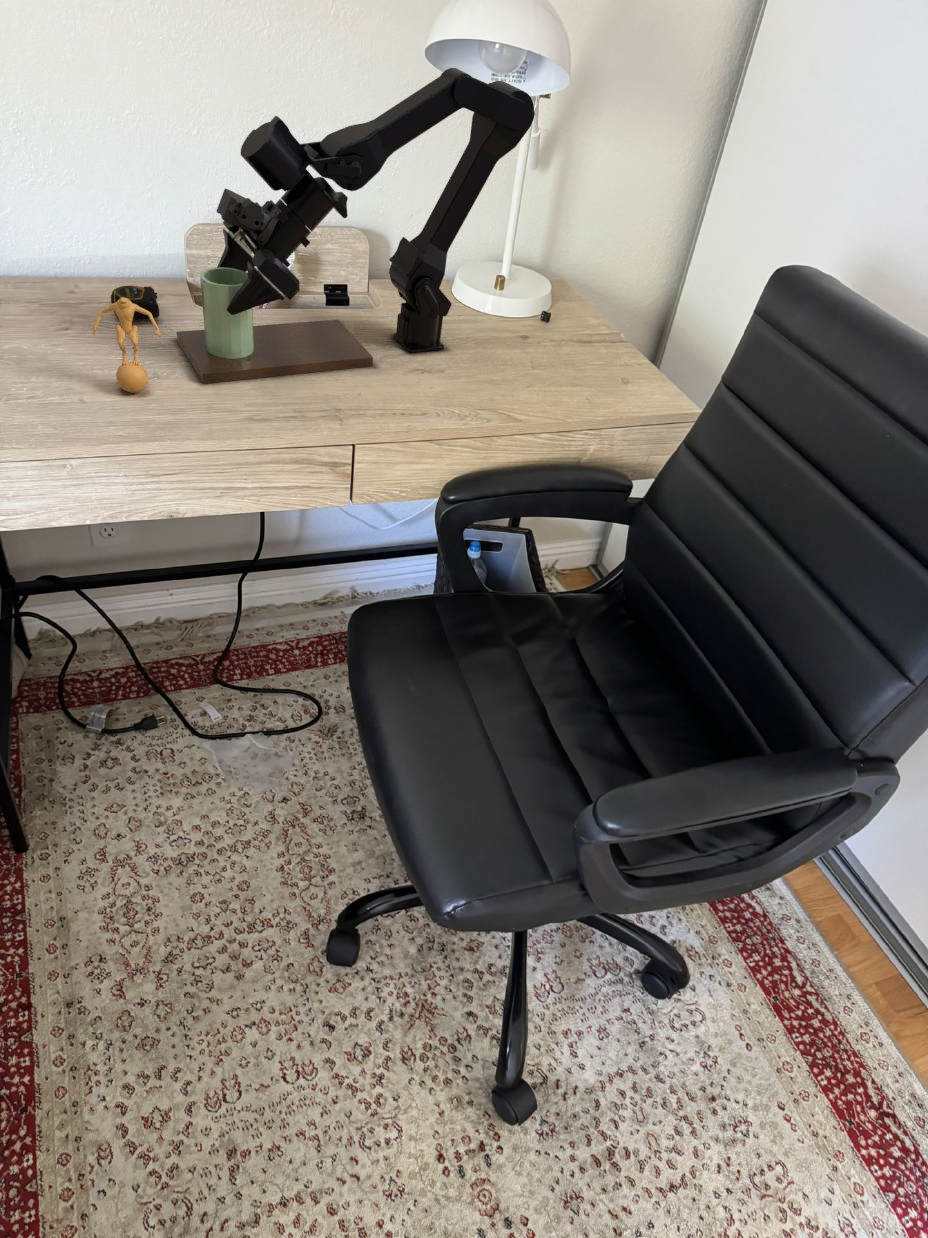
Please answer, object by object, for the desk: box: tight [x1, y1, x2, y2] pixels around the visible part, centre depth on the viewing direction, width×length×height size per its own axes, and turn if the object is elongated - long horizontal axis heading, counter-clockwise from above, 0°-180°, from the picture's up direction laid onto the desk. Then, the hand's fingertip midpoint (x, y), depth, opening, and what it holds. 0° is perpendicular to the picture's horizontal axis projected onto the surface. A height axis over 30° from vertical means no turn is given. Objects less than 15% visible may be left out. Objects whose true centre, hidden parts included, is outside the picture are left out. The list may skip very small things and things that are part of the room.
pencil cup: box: [199, 267, 254, 359], centre depth 115 cm, size 7×7×10 cm
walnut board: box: [176, 319, 374, 385], centre depth 122 cm, size 26×14×2 cm, turn 118°
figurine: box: [92, 297, 162, 394], centre depth 106 cm, size 8×6×12 cm
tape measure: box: [110, 284, 160, 321], centre depth 125 cm, size 7×7×4 cm
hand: (220, 299), depth 114 cm, fingers open, 9 cm apart
